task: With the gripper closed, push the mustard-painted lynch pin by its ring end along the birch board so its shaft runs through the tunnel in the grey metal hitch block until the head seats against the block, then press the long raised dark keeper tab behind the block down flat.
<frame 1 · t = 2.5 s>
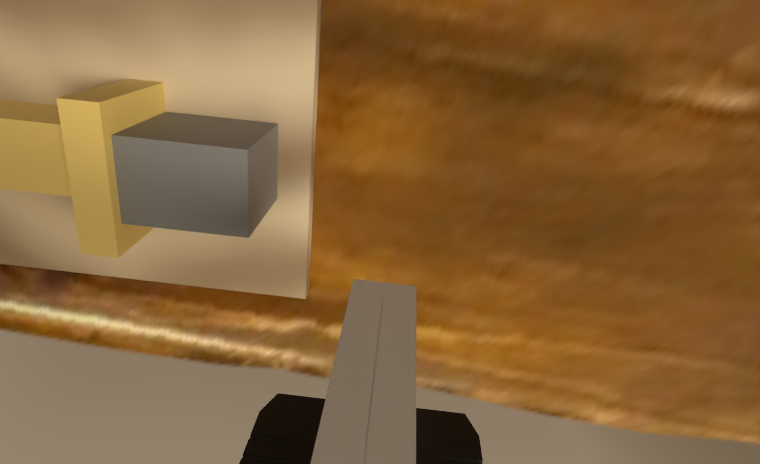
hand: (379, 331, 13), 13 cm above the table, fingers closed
base board: (41, 119, 25), on the table
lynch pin: (50, 137, 24), point 1 cm above the table, touching base board
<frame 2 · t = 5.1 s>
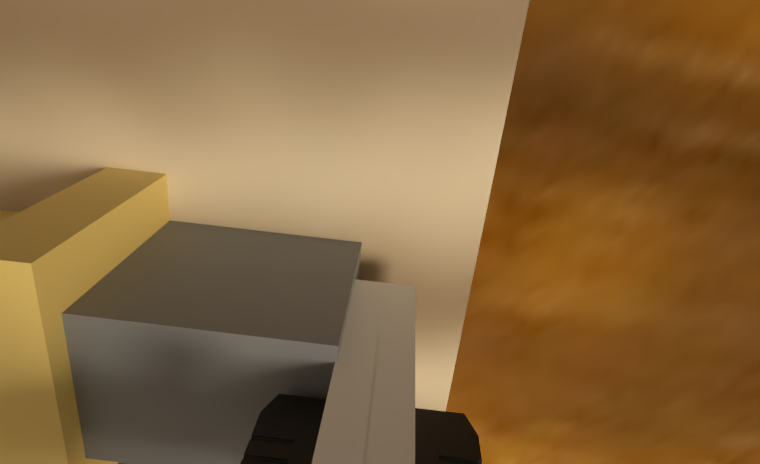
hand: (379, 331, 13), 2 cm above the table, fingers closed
base board: (13, 223, 15), on the table
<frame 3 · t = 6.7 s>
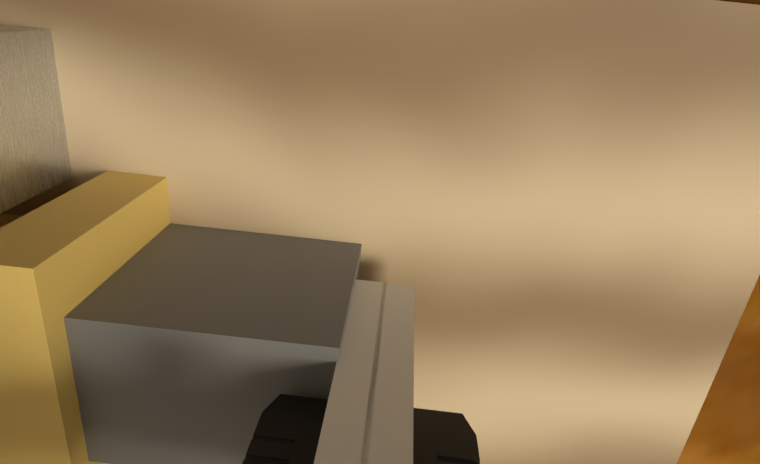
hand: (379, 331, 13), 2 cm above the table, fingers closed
base board: (258, 251, 15), on the table
hitch block: (19, 240, 15), resting on base board
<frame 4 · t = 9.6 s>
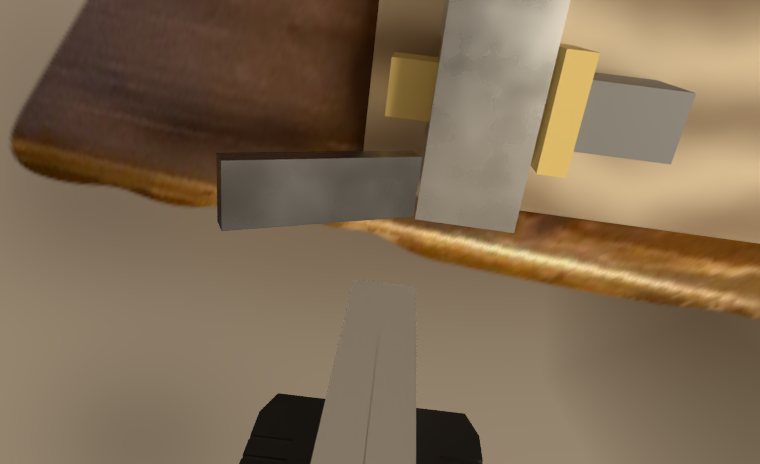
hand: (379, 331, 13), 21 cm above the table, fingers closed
base board: (597, 90, 30), on the table
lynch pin: (461, 88, 30), point 1 cm above the table, touching base board
keeper tab: (323, 187, 23), point 10 cm above the table, hinge at 30.0°
hitch block: (474, 83, 30), resting on base board
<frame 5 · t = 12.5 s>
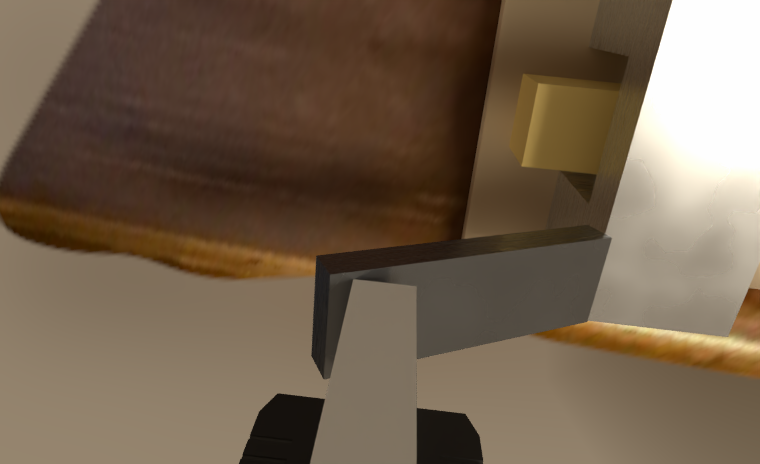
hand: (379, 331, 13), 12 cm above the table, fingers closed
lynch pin: (613, 121, 21), point 1 cm above the table, touching base board
keeper tab: (470, 293, 15), point 10 cm above the table, hinge at 28.9°, touching gripper
hitch block: (626, 113, 22), resting on base board
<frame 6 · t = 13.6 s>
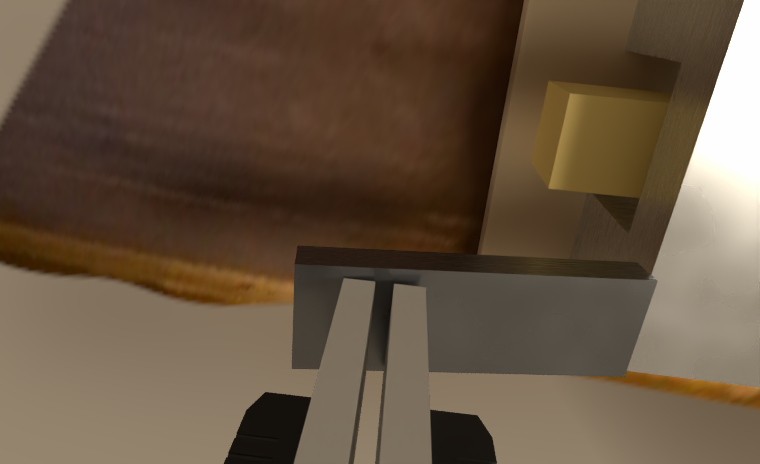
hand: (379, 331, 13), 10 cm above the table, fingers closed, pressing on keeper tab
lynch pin: (651, 134, 19), point 1 cm above the table, touching base board
keeper tab: (468, 314, 14), point 9 cm above the table, hinge at 9.1°, touching gripper
hitch block: (664, 125, 20), resting on base board
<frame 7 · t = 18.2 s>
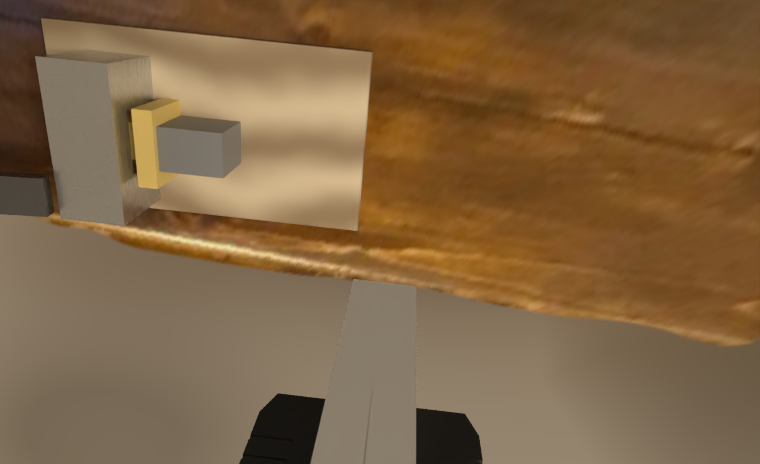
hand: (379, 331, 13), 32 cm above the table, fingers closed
base board: (213, 128, 44), on the table
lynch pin: (117, 129, 44), point 1 cm above the table, touching base board
hitch block: (132, 125, 45), resting on base board
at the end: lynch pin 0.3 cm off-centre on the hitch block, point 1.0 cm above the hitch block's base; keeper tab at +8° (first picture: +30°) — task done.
